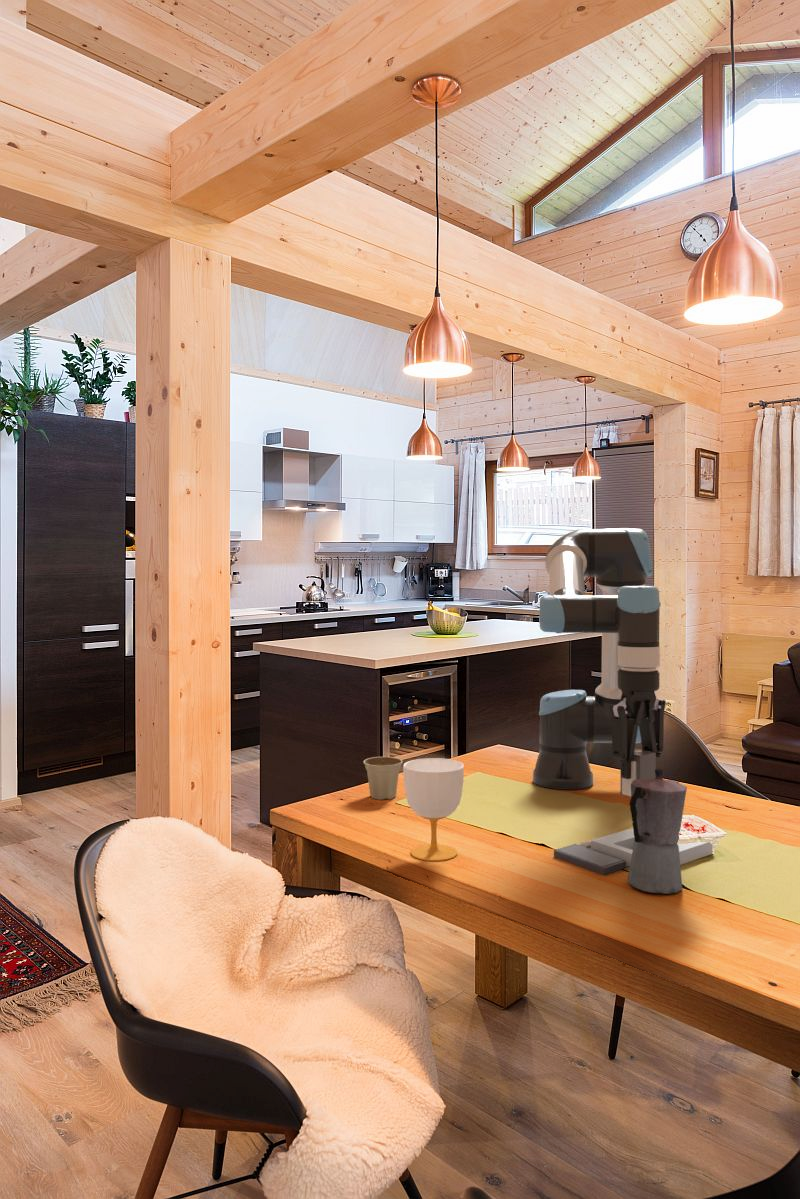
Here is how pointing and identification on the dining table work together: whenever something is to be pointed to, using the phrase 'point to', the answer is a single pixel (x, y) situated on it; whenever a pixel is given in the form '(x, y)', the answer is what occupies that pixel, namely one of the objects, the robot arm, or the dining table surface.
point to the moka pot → (656, 834)
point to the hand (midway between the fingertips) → (638, 792)
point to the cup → (433, 798)
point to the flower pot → (383, 776)
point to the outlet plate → (624, 842)
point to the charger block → (644, 764)
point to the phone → (590, 859)
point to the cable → (586, 843)
